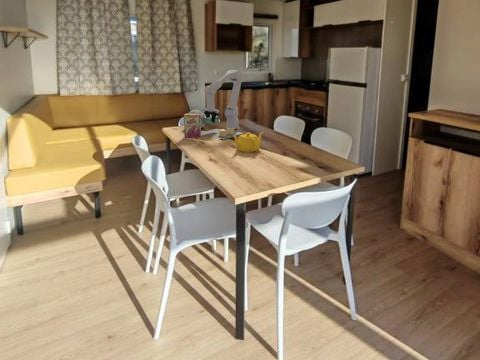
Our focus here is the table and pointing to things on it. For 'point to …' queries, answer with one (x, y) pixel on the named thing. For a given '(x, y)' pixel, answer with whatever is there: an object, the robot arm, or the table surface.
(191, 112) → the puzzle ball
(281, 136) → the table surface
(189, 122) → the candy bar box
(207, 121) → the beam
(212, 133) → the board
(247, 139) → the teapot
